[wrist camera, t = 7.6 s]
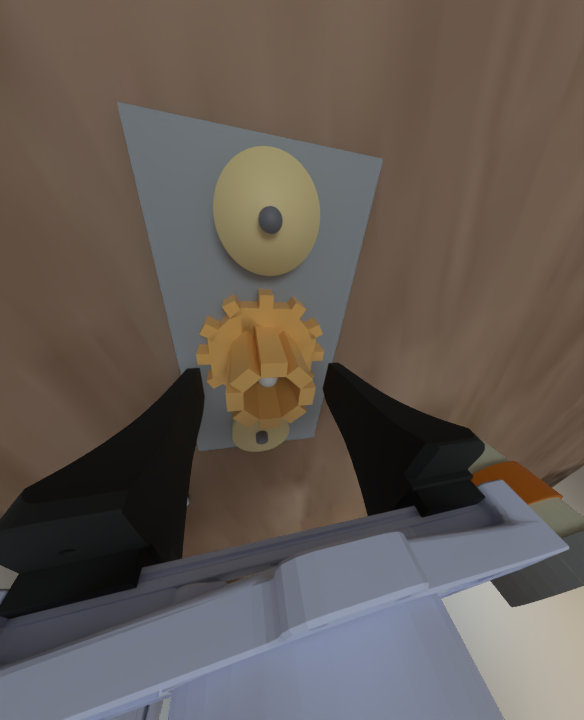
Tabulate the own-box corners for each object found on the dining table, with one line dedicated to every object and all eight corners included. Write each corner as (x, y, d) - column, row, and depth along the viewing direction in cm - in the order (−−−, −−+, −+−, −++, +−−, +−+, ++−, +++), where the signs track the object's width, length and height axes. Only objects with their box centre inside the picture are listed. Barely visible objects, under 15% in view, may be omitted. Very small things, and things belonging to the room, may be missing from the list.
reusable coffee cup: (446, 473, 39) (541, 591, 26) (397, 473, 34) (485, 617, 22) (503, 428, 33) (658, 553, 21) (453, 420, 28) (617, 576, 16)
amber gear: (309, 389, 18) (330, 440, 14) (207, 395, 16) (196, 457, 12) (328, 292, 13) (368, 325, 9) (189, 285, 11) (163, 323, 7)
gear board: (310, 429, 22) (325, 471, 19) (200, 441, 20) (192, 493, 16) (372, 162, 11) (441, 136, 7) (128, 112, 8) (41, 31, 5)
